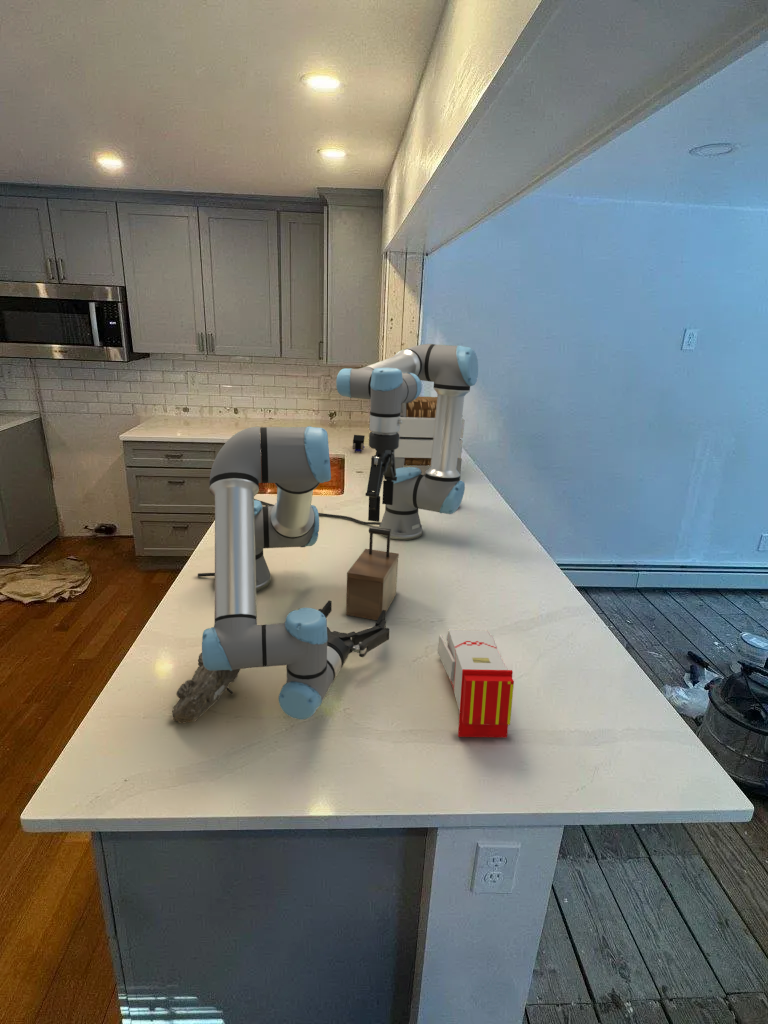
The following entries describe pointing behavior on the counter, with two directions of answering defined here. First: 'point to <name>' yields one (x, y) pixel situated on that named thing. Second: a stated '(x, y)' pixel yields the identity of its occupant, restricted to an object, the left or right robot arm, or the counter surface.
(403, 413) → the white wooden crate
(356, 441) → the figurine character
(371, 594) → the chest
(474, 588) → the counter surface
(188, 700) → the fossil
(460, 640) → the toy
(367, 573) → the lid
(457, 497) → the right robot arm
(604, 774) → the counter surface
